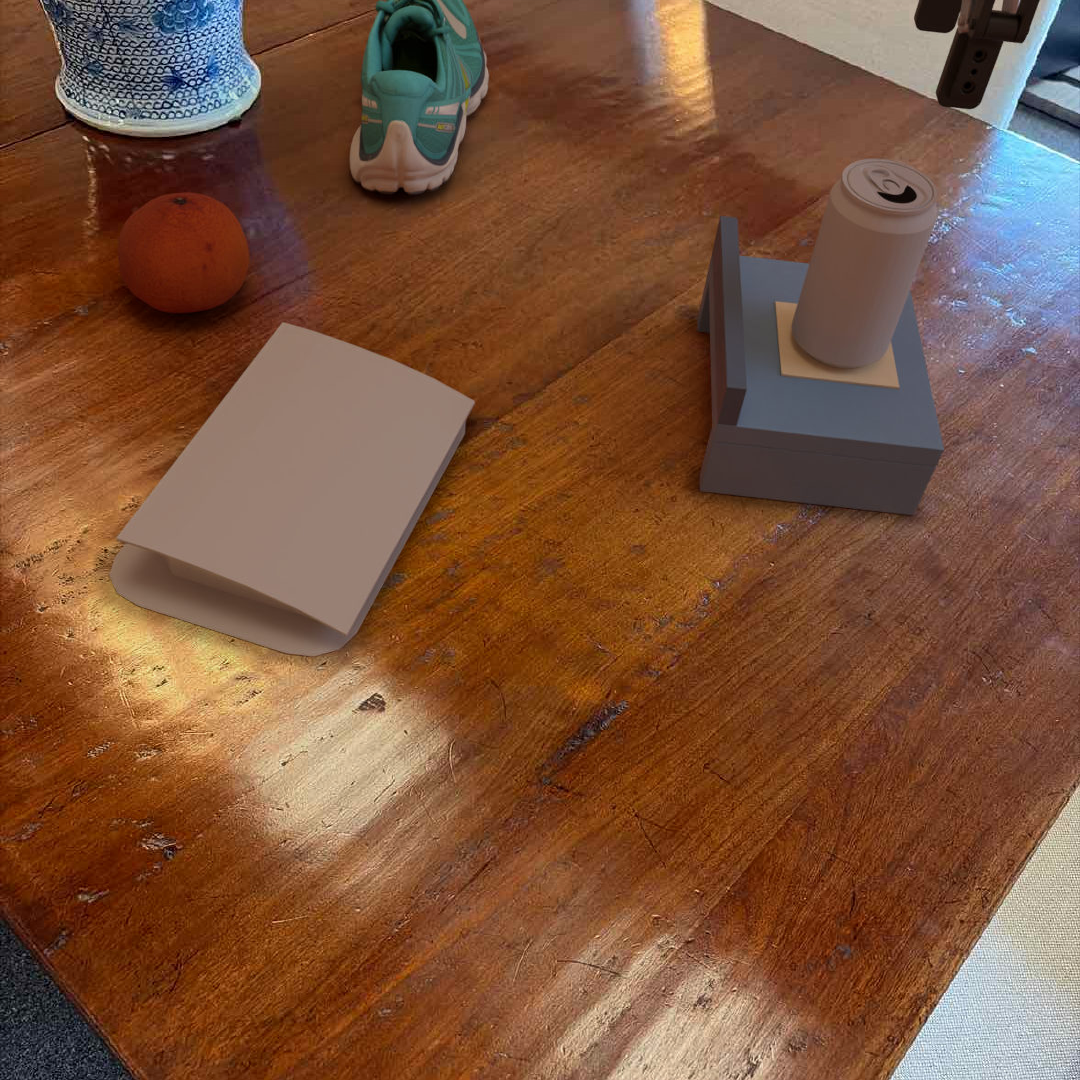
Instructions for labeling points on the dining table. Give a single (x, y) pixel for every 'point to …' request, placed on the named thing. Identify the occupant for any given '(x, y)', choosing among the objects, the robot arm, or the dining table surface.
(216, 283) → the fruit
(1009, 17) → the robot arm
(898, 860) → the dining table surface
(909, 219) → the beverage can
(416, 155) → the running shoe
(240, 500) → the book
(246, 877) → the dining table surface
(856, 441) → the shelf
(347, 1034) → the dining table surface
